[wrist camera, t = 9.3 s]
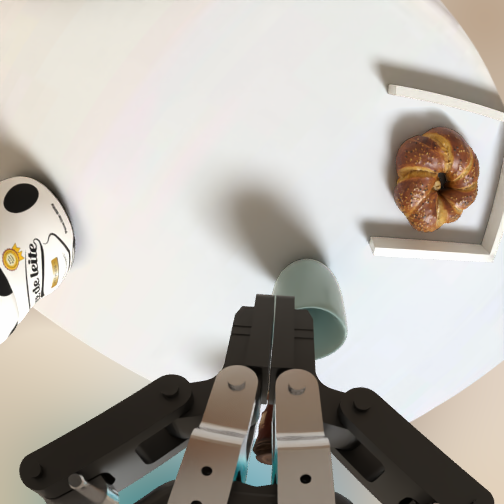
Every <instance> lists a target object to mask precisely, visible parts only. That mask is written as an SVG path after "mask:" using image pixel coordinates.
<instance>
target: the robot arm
mask: <svg viewBox="0 0 504 504" xmlns="http://www.w3.org/2000/svg"><path fill="white" fill-rule="evenodd" d="M274 303H275V295H263V294H257V295H256V300H255V306H254V307H247V306H242V307H241V308H240V310H239V311H238V312H237V313H236V314H235V318H234V322H233V327H232V331H231V336H230V341H229V345H228V350H227V354H226V359H225V364H224V367H223V369H222V370H221V371H220V372H219V373H218V375H217V376H215V377H213V378H211V379H209V380H206V381H200V382H193V383H189V382H188V381H187V380H186V379H185V378H184V377H182V376H179V375H173V374H171V375H165V376H162V377H160V378H158V379H157V380H155V381H153V382H152V383H150V384H149V385H147V386H145V387H144V388H142V389H141V390H139V391H137V392H136V393H134V394H133V395H131V396H129V397H128V398H126V399H124V400H123V401H121V402H120V403H118V404H116V405H115V406H113V407H111V408H110V409H108V410H106V411H105V412H103V413H102V414H100V415H98V416H96V417H95V418H93V419H91V420H90V421H88V422H86V423H85V424H83V425H81V426H79V427H77V428H76V429H74V430H72V431H70V432H69V433H67V434H65V435H63V436H62V437H60V438H58V439H56V440H54V441H53V442H51V443H49V444H47V445H45V446H44V447H42V448H40V449H38V450H36V451H34V452H32V453H31V454H29V455H27V456H26V457H25V458H24V459H23V460H22V462H21V464H20V469H19V472H20V477H21V480H22V481H23V483H24V484H25V485H26V486H27V487H28V488H30V489H31V490H33V491H35V492H36V493H38V494H39V495H40V496H41V497H43V498H44V500H45V501H46V503H47V504H119V495H118V492H119V491H121V490H123V489H124V488H126V487H128V486H129V485H131V484H132V483H134V482H135V481H137V480H139V479H140V478H142V477H143V476H145V475H146V474H148V473H149V472H151V471H152V470H154V469H156V468H157V467H158V466H160V465H162V464H163V463H164V462H166V461H168V460H169V459H170V458H172V457H173V456H175V455H176V454H178V453H179V452H180V451H182V450H183V449H185V448H186V447H187V448H186V451H185V454H184V457H183V460H182V463H181V465H180V468H179V471H178V474H177V477H176V480H172V481H169V482H167V483H164V484H163V485H161V486H159V487H157V488H156V489H154V490H153V491H151V492H150V493H149V494H147V495H146V496H144V497H143V498H142V499H140V500H138V501H137V502H136V503H134V504H353V503H352V502H351V501H350V500H348V499H347V498H345V497H344V496H342V495H341V494H339V493H337V492H334V482H333V472H332V462H331V452H332V454H333V455H334V456H335V457H336V458H337V459H338V460H339V461H340V462H341V463H342V464H343V465H344V466H345V467H346V468H347V469H348V470H349V471H350V472H351V473H352V474H353V475H354V476H355V477H356V478H357V479H358V481H360V482H361V483H362V485H364V486H365V487H366V488H367V489H368V490H369V491H370V492H371V493H372V494H373V495H374V496H375V497H376V498H377V499H378V500H379V501H380V502H381V503H382V504H494V499H493V497H492V495H491V493H490V492H489V491H488V490H487V489H485V488H484V487H483V486H482V485H481V484H479V483H478V482H477V481H476V480H475V479H474V478H472V477H471V476H470V475H469V474H468V473H467V472H465V471H464V470H463V469H462V468H461V467H459V466H458V465H457V464H456V463H454V461H453V460H451V459H450V458H449V457H448V456H447V455H445V454H444V453H443V452H442V451H441V450H440V449H439V448H437V447H436V446H435V445H434V444H433V443H432V442H431V441H429V440H428V439H427V438H426V437H425V436H424V435H423V434H421V433H420V432H419V431H418V430H417V429H416V428H414V427H413V426H412V425H411V424H410V423H409V422H408V421H407V420H406V419H404V418H403V417H402V416H401V415H400V414H399V413H398V412H397V411H395V410H394V409H393V408H392V407H391V406H390V405H389V404H388V403H386V402H385V401H384V400H383V399H382V398H381V397H380V396H379V395H377V394H376V393H375V392H374V391H372V390H370V389H367V388H361V387H359V388H353V389H351V390H349V391H347V392H346V393H344V392H341V391H337V390H334V389H331V388H329V387H327V386H325V385H324V384H322V383H321V382H320V380H319V379H318V377H317V375H316V372H315V349H314V332H313V331H314V327H313V318H312V317H311V315H310V313H309V312H308V310H302V309H295V296H283V295H276V307H275V320H274ZM273 324H274V332H273ZM272 338H273V344H272ZM271 350H272V356H271ZM270 361H271V368H270ZM269 373H270V385H269V402H268V404H271V405H274V406H273V418H272V476H271V485H266V486H259V487H255V486H251V485H248V484H245V482H246V477H247V470H248V464H249V459H250V454H251V450H252V446H253V441H254V437H255V432H256V427H257V422H258V419H259V415H260V406H261V404H267V394H268V383H269Z"/></svg>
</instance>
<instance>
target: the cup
mask: <svg viewBox="0 0 504 504" xmlns="http://www.w3.org/2000/svg"><path fill="white" fill-rule="evenodd" d="M272 295H275V303H274V320H275V307H276V295H283V296H295V309H302V310H308V312H309V313H310V315H311V317H312V318H313V327H314V331H313V332H314V349H315V360H317V359H320V358H323V357H326V356H328V355H330V354H332V353H334V352H335V351H336V350H338V349H339V348H340V347H341V346H342V344H343V343H344V342H345V340H346V338H347V331H348V329H347V320H346V314H345V308H344V302H343V297H342V293H341V290H340V287H339V284H338V282H337V280H336V277H335V276H334V274H333V273H332V271H331V270H330V269H329V268H328V267H327V266H326V265H324V264H323V263H321V262H319V261H317V260H314V259H301V260H298V261H295V262H293V263H291V264H290V265H288V266H287V267H286V268H284V270H283V271H282V272H281V273H280V274H279V276H278V278H277V280H276V282H275V285H274V288H273V292H272ZM273 332H274V324H273ZM272 344H273V338H272Z"/></svg>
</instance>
